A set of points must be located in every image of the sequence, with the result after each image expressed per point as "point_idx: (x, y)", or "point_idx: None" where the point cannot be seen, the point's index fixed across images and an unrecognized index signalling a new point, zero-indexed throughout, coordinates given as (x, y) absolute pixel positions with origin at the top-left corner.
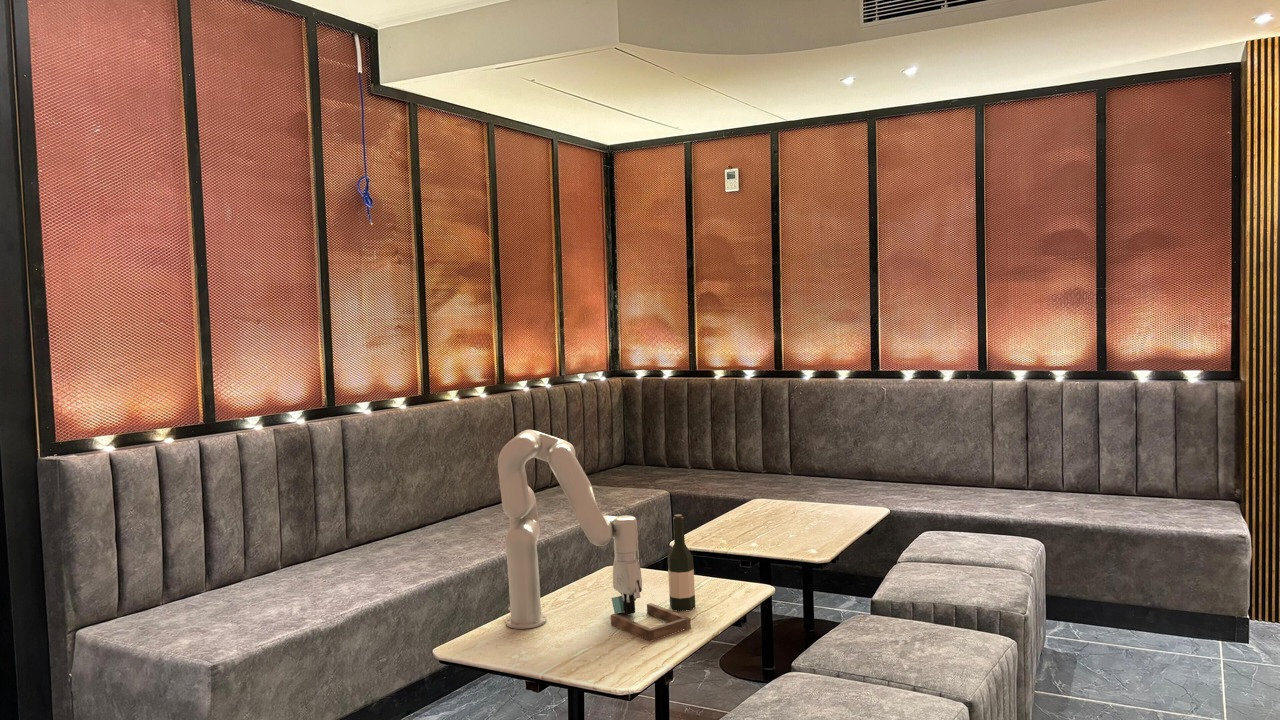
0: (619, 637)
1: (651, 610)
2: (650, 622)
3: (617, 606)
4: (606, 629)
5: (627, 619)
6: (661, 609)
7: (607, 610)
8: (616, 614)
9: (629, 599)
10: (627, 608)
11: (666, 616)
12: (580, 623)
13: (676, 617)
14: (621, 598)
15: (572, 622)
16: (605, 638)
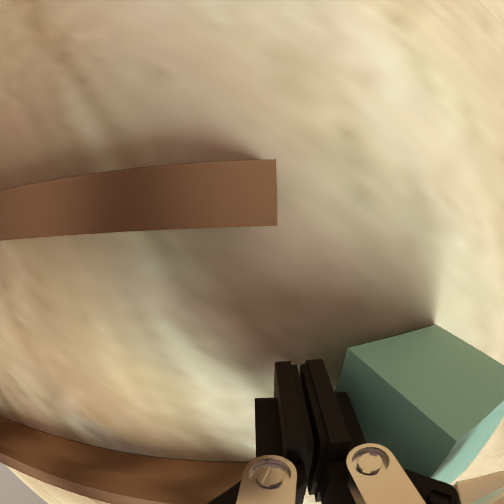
0: (7, 90)
1: (222, 483)
2: (112, 398)
3: (426, 365)
4: (186, 65)
5: (22, 229)
6: (119, 495)
7: (499, 316)
8: (230, 224)
9: (240, 497)
10: (280, 404)
11: (84, 462)
12: (445, 27)
13: (15, 450)
14: (421, 449)
15: (480, 20)
16: (56, 7)
